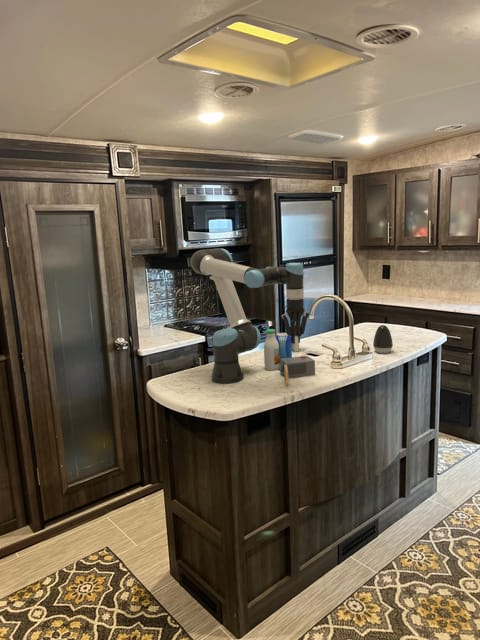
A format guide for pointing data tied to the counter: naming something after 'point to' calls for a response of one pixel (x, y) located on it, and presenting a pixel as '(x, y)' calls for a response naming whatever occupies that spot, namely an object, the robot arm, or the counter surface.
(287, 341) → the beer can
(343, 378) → the counter surface
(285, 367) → the side door
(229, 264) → the robot arm
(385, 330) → the egg shaped speaker
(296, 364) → the camera body
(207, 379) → the counter surface
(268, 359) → the milk bottle
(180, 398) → the counter surface
